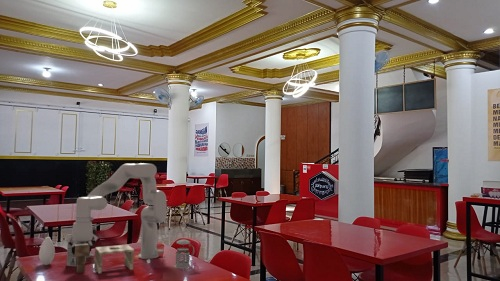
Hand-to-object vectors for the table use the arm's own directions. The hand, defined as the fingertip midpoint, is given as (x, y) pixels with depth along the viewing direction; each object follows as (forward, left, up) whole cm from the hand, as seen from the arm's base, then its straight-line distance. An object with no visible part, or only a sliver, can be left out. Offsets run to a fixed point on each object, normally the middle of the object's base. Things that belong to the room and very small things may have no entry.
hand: (81, 253), depth 206 cm
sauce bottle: (+15, -23, -10) cm, 29 cm away
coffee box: (0, -17, -10) cm, 20 cm away
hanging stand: (-17, +1, -10) cm, 20 cm away
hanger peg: (0, 0, -10) cm, 10 cm away
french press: (-54, +13, -10) cm, 56 cm away
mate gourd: (-7, -35, -10) cm, 37 cm away
